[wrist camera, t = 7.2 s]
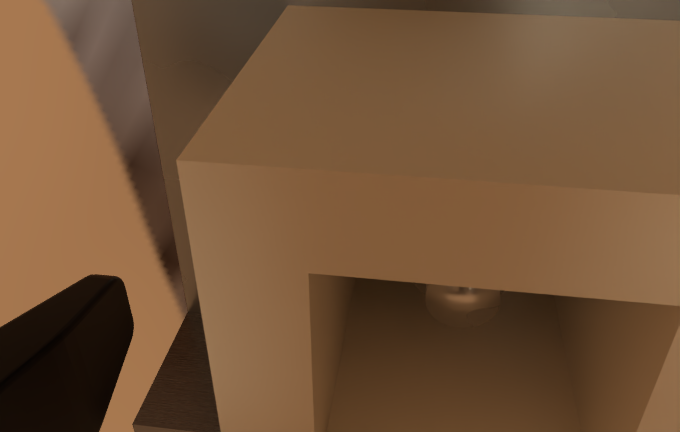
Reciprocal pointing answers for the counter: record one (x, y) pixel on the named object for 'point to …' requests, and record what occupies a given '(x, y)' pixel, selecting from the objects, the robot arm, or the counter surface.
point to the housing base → (197, 103)
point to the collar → (442, 224)
